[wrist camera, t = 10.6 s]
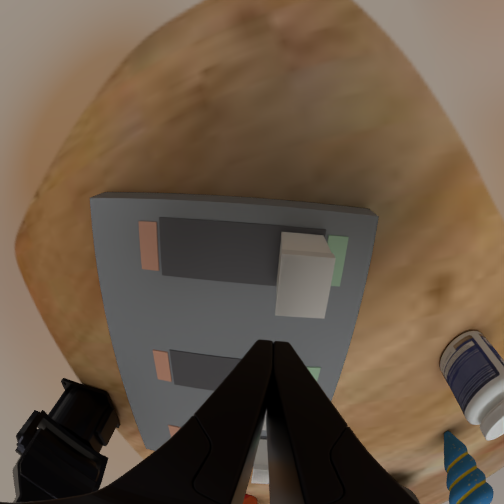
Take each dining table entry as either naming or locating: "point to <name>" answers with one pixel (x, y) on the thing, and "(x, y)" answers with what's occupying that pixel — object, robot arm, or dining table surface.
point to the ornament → (464, 474)
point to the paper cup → (249, 499)
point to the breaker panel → (215, 293)
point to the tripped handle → (303, 275)
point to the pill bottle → (476, 381)
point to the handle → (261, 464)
